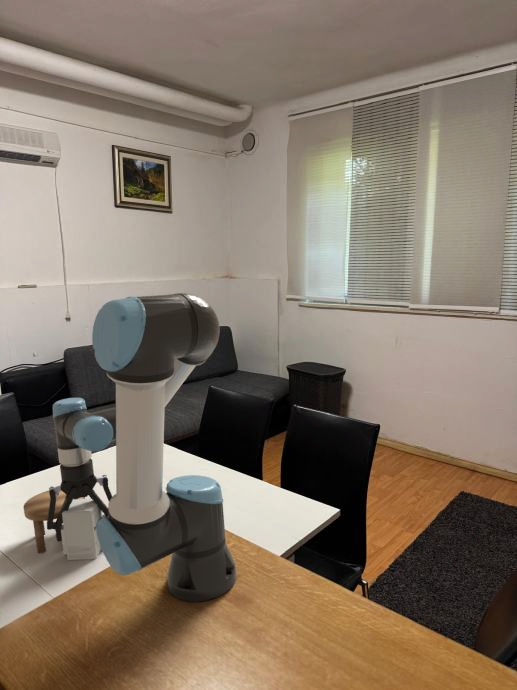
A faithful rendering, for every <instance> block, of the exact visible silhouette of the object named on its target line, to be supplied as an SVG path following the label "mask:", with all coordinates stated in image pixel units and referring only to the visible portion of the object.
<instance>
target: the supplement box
mask: <svg viewBox="0 0 517 690" xmlns="http://www.w3.org/2000/svg"><path fill="white" fill-rule="evenodd" d="M102 515H103V512H102V511H101V509H100V508H99V507H98V506H97V504H96V503H95V502H94V501H93V500H92V499H91V498H90V497H89V498H85V499H76V500H73V501H72V503H71V504H70V506H69V509H68V510H67V511H64V512H62V518H63V523H62V525H63V526H64V534H65V542H66V550H67V554H66V556H67V561H79V560H95V559H97V558H98V556H99V554H100V553H101V551H102V549H101V546H100V543H99V540H98V536H97V531H96V525H97V522H98V521H99V520H100V519H102Z"/></svg>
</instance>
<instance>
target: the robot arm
mask: <svg viewBox="0 0 517 690" xmlns="http://www.w3.org/2000/svg"><path fill="white" fill-rule="evenodd" d="M220 326H221V325H220V322H219V318H218V316H217V313H216V311H215V309H214V308H212V306H211V304H209V303H208V302H207V301H205V299H203V298H202V297H199V296H198V295H196V294H195V295H194V294H191V293H184V292H179V293H173V294H162V295H161V294H160V295H147V296H146V295H144V296H143V295H142V296H131V295H130V296H127V297H125V298H120V299H112V300H110V301H108V302H105V303H104V304H103V305H102V306H101V307H100V309H99V310H98V311H97V314H96V315H95V318H94V321H93V327H92V335H91V336H92V337H91V338H92V340H91V341H92V348H93V350H94V358H95V360H96V363H97V364H98V365H99V366H100V368H101V369H103V370H104V371H106V376H107V377H108V378H109V379H111V381H112V382H114V383H115V407H111V408H108V409H104V410H99V411H94V412H88V411H87V409H88V408H87V405H86V400H85V399H84V398H82V397H68V398H63V399H60V400H57V401H55V402H54V403H53V404H52V420H53V422H54V424H53V425H54V432H55V437H56V438H55V439H56V445H57V455H58V461H59V464H60V466H59V468H60V469H59V470H60V471H59V472H60V477H61V483H60V485H57V486H50V487H48V491H49V494H50V504H49V511H48V518H47V521H46V529H47V530H48V531H51V530H53V531H55V536H56V541H57V543H59V542H61V543H62V550H63V555H67V550H66V542H65V534H64V526H63V518H62V512H64V511H67V510H68V509H69V506H70V504H71V503H72V500H73V499H74V500H75V499H79V498H81V497H85V498H88V496H89V498H91V499H92V500H93V501H94V502H95V503H96V504H97V506H98V507H99V508H100V509H101V511H102V519H100V520H99V521H98V522H97V525H96V531H97V536H98V540H99V543H100V546H101V551H102V553H103V555H104V557H105V559H106V561H107V563H108V565H109V566H110V567H111V569H112V570H113V571H114V572H115V573H117V575H120V576H124V577H125V576H128V575H130V574H133V573H136V572H140V571H141V570H143V569H145V568H147V567H149V566H151V565H152V564H155V563H156V562H159V561H160V560H162V559H164V558H166V557H168V556H170V555H171V558H170V563H169V565H168V571H167V585H168V587H167V588H168V590H169V592H170V594H171V595H173V596H174V597H175V598H177V599H179V600H181V601H184V602H185V601H186V602H192V603H194V602H205V601H209V600H213V599H216V598H218V597H220V596H222V595H224V594H225V593H227V592H228V591H229V590H231V588H233V586H234V585H235V582H236V581H237V567H236V563H235V559H234V558H233V556H232V553H231V551H230V549H229V547H228V544H227V540H226V529H225V518H224V517H225V516H224V515H225V514H224V505H223V504H224V498H223V494H222V487H221V484H220V483H219V482H218V481H217V480H216V479H214V478H212V477H210V476H205V475H193V474H191V475H190V474H189V475H183V476H178V477H174V478H172V479H170V480H169V481H168V482H167V484H166V487H165V490H166V491H164V490H163V483H164V482H163V478H164V475H163V473H164V446H165V445H164V442H165V439H164V438H165V437H164V436H165V435H164V434H165V416H166V415H165V411H166V410H165V408H166V407H167V405H168V404H169V403H170V401H171V400H172V399H173V397H174V396H175V394H176V393H177V392H178V391H179V389H180V388H181V386H182V385H183V383H184V382H185V381H186V380H187V379H188V377H189V376H190V374H191V373H192V372H193V370H194V369H195V368H196V367H197V366H201V365H202V364H204V363H205V362H206V361H207V360H208V359H209V357H210V356H211V355H212V354H213V352H214V350H215V349H216V347H217V345H218V343H219V338H220V333H221V332H220V331H221V329H220ZM111 442H115V450H116V451H115V457H116V458H115V459H116V461H115V463H116V464H115V465H116V466H115V467H116V468H115V469H116V470H115V471H116V472H115V475H116V476H115V477H116V481H115V482H116V483H115V484H116V493H115V494H114V495H113V494H112V492H111V489H110V487H109V479H108V476H107V474H102V476H96V475H95V471H94V463H93V459H92V456H93V455H92V452H99V451H103V450H104V449H105V448H106V447H108V446H109V445H110V444H111ZM97 483H98V484H99V486H100V487H102V489H103V491H104V493H105V495H106V498H107V501H108V506H107V505H106V504H105V503H104V501H103V500H102V499H101V498H100V497H99V495H98V493H96V491H95V489H94V488H95V486H96V484H97ZM61 490H62V491H63V492H64V493H65V494H66V497H65V500H64V503H63V505H62V508H61V510H60V512H59V515H58V517H57V519H54V512H55V505H56V496H58V495H59V492H60V491H61ZM54 520H55V521H54Z"/></svg>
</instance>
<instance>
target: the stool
mask: <svg viewBox="0 0 517 690" xmlns="http://www.w3.org/2000/svg"><path fill="white" fill-rule="evenodd" d="M65 497H66V494H65V493H64V492H63V491H62V490H61V491H60V492H59V495H58V496H56V505H55V512H54V519H53V520H57V517H58V515H59V512H60V510H61V508H62V505H63V503H64V500H65ZM79 499H86V497H81V498H79ZM73 500H74V499H73ZM73 500H72V501H73ZM75 500H76V499H75ZM49 504H50V494H49V490H46V491H43V492H40V493H38V494H36V495H33V496H32V497H30V498H29V499H28V500H27V501H26V502H25V503H24V504H23V513H24V517H25V518H26V519H28V520H30V521H32V523H33V524H32V525H33V530H34V536H35V537H34V538H35V545H36V551H37V554H41V555H42V554H44V553H45V552H46V551H47V549H46V548H47V547H46V541H45V536H44V535H46V529H45V522H47V518H48V511H49Z"/></svg>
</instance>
